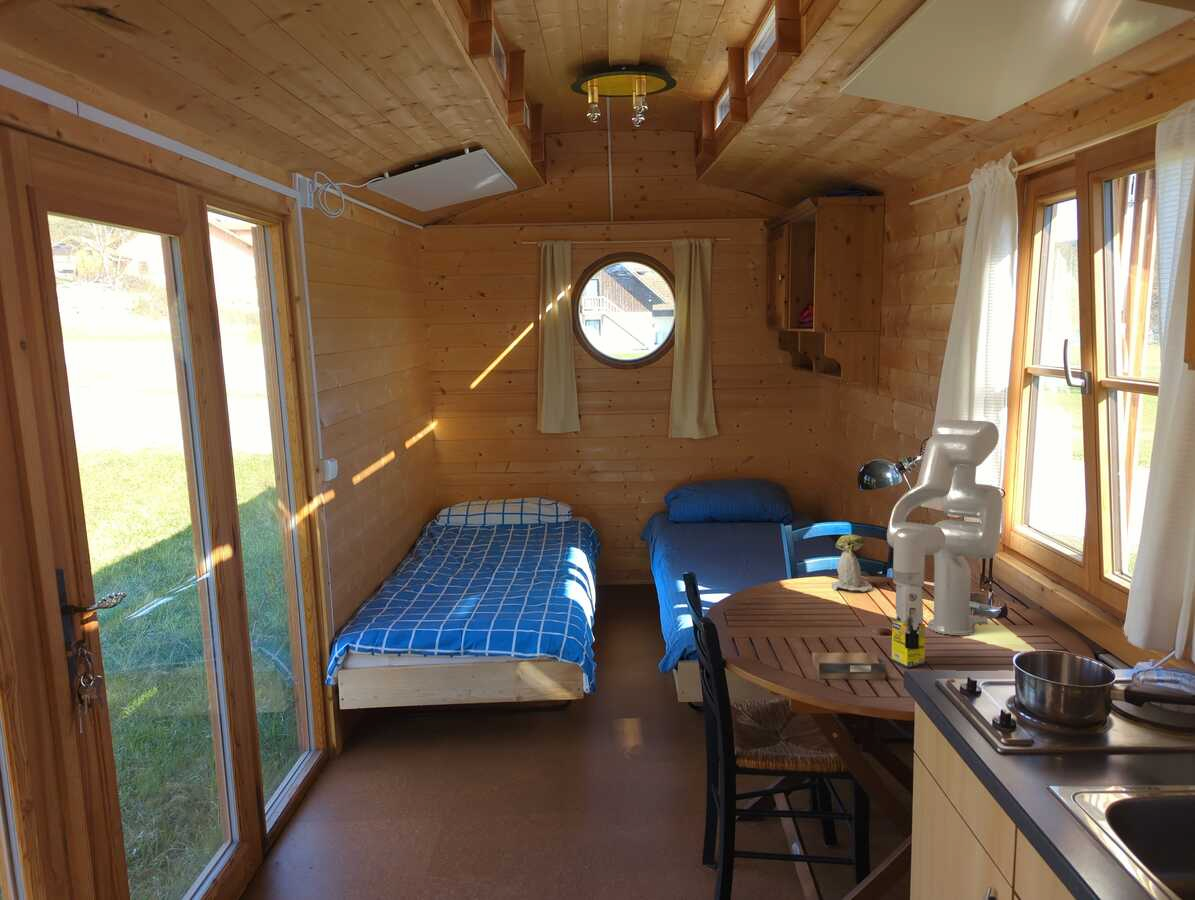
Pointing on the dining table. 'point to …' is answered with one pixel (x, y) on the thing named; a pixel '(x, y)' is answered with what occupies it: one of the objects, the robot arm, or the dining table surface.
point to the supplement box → (903, 654)
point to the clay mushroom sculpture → (850, 565)
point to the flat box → (848, 666)
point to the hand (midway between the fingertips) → (907, 641)
